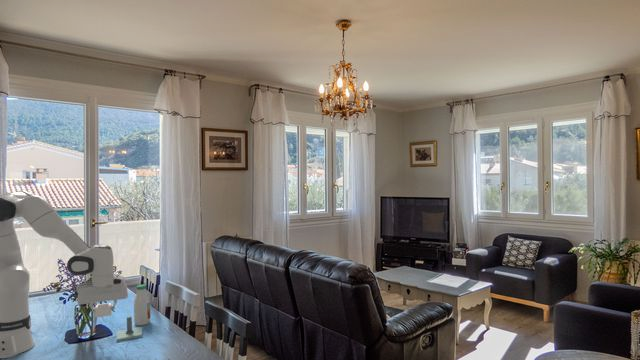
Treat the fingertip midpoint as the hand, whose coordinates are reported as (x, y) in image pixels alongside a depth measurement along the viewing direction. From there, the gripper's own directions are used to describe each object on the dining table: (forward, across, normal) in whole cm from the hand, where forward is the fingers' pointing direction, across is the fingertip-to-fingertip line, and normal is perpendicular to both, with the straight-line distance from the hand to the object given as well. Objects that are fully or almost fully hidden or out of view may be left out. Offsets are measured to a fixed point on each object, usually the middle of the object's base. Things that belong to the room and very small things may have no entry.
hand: (103, 310), depth 181 cm
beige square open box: (+2, 0, 0) cm, 2 cm away
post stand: (+16, +10, +9) cm, 21 cm away
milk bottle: (+16, +16, +23) cm, 33 cm away
